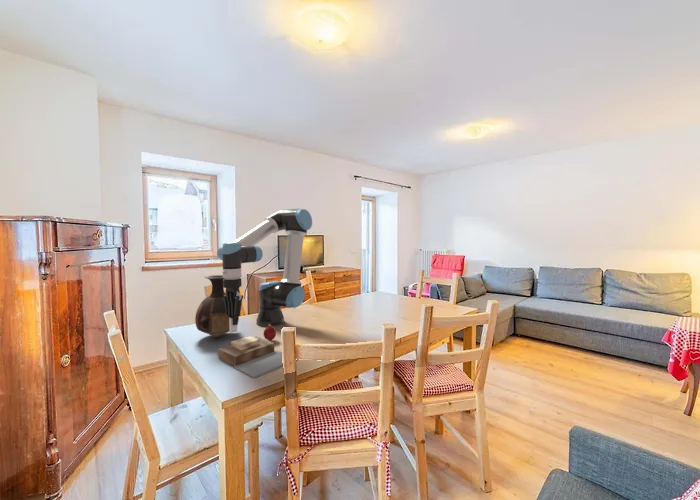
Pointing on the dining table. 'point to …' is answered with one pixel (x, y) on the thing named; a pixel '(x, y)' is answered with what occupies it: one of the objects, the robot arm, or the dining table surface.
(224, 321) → the vase
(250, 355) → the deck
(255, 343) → the tile
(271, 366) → the mat
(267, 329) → the onion
